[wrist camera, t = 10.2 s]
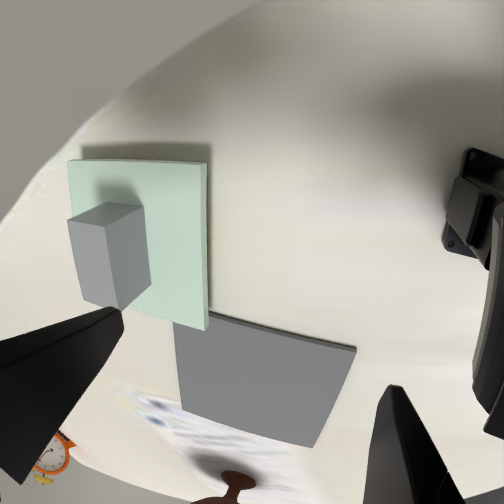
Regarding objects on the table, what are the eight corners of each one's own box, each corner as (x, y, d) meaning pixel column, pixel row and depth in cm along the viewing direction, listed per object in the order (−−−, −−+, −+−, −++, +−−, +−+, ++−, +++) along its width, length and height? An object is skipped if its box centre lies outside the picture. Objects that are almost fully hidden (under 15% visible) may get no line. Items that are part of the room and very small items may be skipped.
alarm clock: (81, 449, 61) (43, 497, 44) (77, 450, 64) (41, 495, 47) (44, 415, 60) (3, 461, 43) (42, 418, 63) (3, 461, 46)
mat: (356, 348, 22) (356, 352, 21) (313, 444, 29) (312, 448, 28) (174, 301, 25) (171, 305, 25) (184, 406, 32) (182, 409, 32)
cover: (206, 163, 18) (163, 179, 14) (208, 324, 23) (179, 366, 19) (74, 159, 21) (27, 173, 17) (93, 289, 26) (59, 316, 22)
